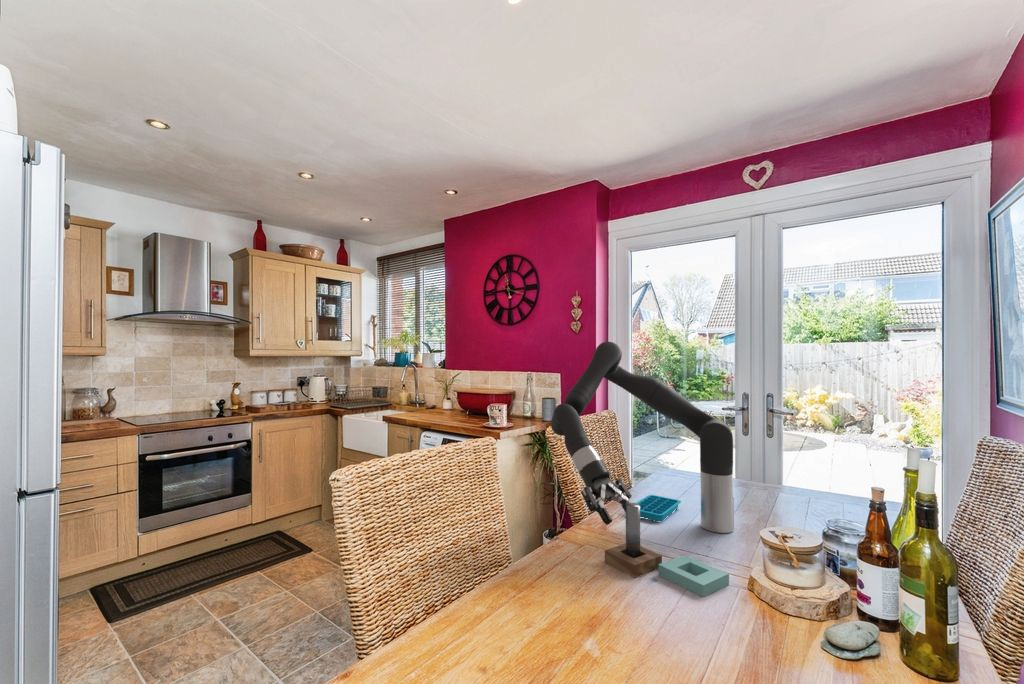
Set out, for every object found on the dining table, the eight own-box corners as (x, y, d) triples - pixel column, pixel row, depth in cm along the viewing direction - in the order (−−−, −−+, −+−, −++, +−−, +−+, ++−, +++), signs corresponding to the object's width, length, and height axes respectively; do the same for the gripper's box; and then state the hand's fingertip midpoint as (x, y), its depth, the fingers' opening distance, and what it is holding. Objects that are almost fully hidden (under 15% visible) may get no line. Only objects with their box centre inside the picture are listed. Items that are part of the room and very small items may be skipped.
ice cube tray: (627, 517, 149) (627, 508, 149) (649, 502, 165) (649, 494, 165) (662, 525, 142) (662, 515, 142) (682, 509, 158) (682, 500, 158)
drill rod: (632, 560, 116) (632, 501, 116) (643, 565, 113) (643, 505, 113) (622, 563, 114) (622, 504, 114) (633, 569, 111) (633, 508, 111)
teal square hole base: (683, 564, 113) (683, 554, 114) (729, 584, 103) (728, 573, 104) (658, 574, 108) (658, 564, 108) (703, 596, 98) (703, 585, 98)
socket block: (631, 553, 120) (631, 541, 120) (662, 567, 112) (662, 555, 112) (604, 562, 114) (604, 550, 115) (635, 577, 106) (635, 565, 106)
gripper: (601, 469, 133) (631, 520, 123) (564, 477, 125) (594, 532, 115) (614, 455, 128) (647, 507, 119) (577, 462, 120) (609, 518, 111)
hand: (620, 519), depth 117 cm, fingers open, 8 cm apart
